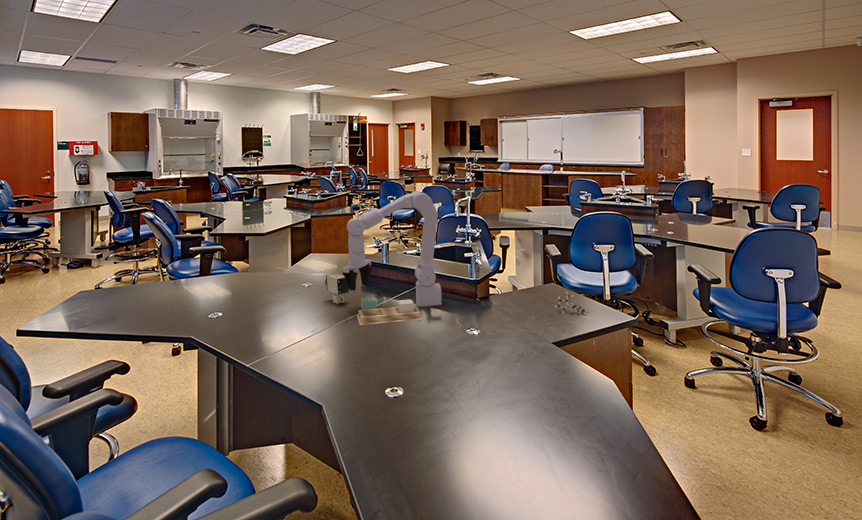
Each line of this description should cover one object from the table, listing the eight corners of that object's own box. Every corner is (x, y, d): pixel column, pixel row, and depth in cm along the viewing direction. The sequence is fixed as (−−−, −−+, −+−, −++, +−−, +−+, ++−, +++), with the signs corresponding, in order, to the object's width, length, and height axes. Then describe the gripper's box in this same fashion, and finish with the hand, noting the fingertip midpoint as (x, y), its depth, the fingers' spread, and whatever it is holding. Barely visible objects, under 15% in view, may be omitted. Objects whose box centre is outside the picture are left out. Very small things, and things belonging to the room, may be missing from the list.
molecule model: (586, 322, 177) (594, 301, 178) (554, 309, 179) (562, 289, 179) (583, 322, 184) (590, 302, 184) (551, 309, 185) (559, 289, 186)
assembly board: (416, 312, 186) (416, 304, 185) (423, 322, 175) (423, 313, 174) (356, 317, 181) (356, 309, 181) (360, 328, 170) (359, 319, 169)
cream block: (411, 312, 182) (411, 299, 181) (414, 316, 177) (413, 303, 176) (397, 313, 181) (397, 300, 180) (400, 317, 176) (399, 304, 175)
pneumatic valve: (341, 306, 195) (339, 277, 193) (325, 301, 204) (324, 272, 201) (353, 304, 199) (351, 274, 196) (337, 298, 207) (336, 270, 205)
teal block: (374, 309, 191) (374, 296, 190) (376, 313, 186) (375, 300, 185) (361, 310, 190) (360, 298, 189) (362, 314, 185) (362, 301, 184)
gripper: (359, 247, 191) (361, 282, 193) (335, 254, 178) (337, 291, 181) (375, 248, 187) (376, 283, 190) (351, 255, 175) (353, 293, 178)
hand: (358, 287), depth 185 cm, fingers open, 7 cm apart
